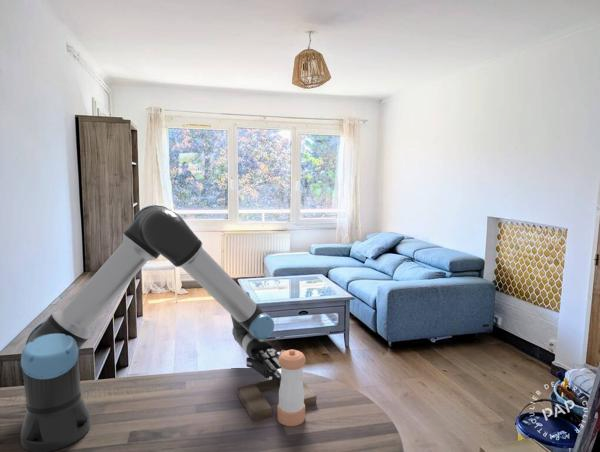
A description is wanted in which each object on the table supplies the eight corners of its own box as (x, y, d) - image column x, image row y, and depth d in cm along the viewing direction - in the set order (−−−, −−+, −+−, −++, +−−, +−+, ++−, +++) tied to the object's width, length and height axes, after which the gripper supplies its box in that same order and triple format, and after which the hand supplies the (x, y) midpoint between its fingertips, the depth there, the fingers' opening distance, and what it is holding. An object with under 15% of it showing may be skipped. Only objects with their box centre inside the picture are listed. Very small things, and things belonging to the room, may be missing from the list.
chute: (237, 395, 122) (237, 387, 121) (295, 381, 130) (295, 373, 129) (253, 421, 110) (253, 412, 110) (316, 404, 118) (316, 395, 118)
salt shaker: (283, 406, 116) (284, 341, 113) (308, 412, 114) (310, 346, 111) (273, 422, 110) (273, 353, 106) (299, 429, 107) (300, 358, 104)
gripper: (276, 354, 138) (310, 391, 117) (237, 363, 132) (266, 403, 112) (276, 333, 137) (310, 366, 116) (237, 340, 131) (266, 377, 110)
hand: (288, 384), depth 114 cm, fingers closed
